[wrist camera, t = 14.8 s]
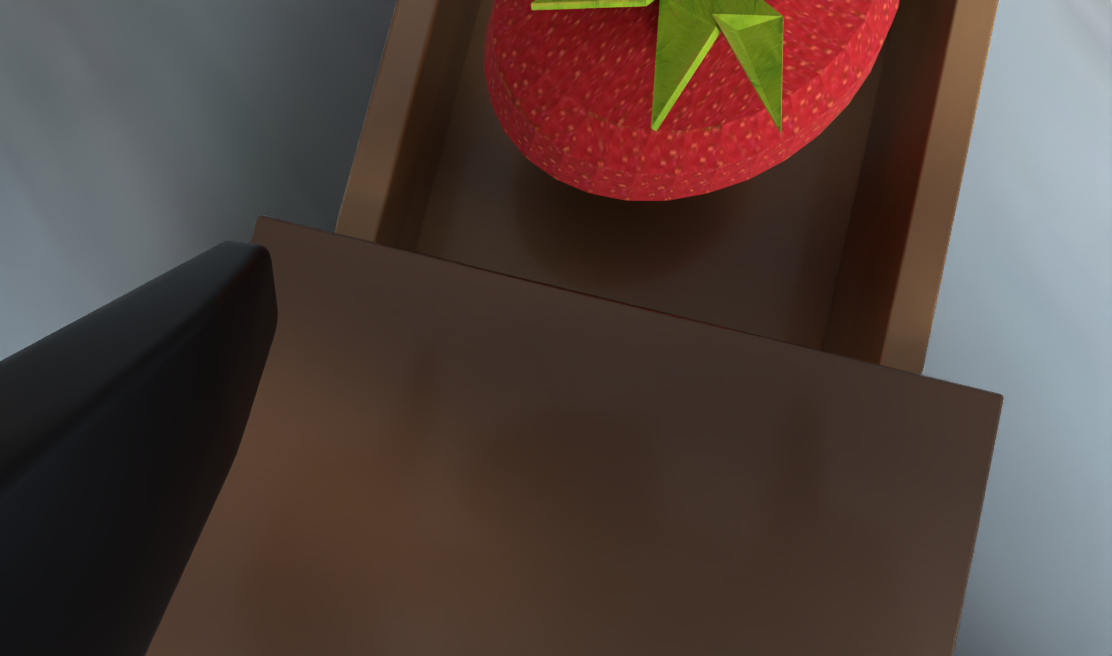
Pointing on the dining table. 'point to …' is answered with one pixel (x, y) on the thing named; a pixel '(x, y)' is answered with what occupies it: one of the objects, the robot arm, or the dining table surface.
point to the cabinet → (571, 480)
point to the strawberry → (674, 86)
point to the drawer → (697, 221)
